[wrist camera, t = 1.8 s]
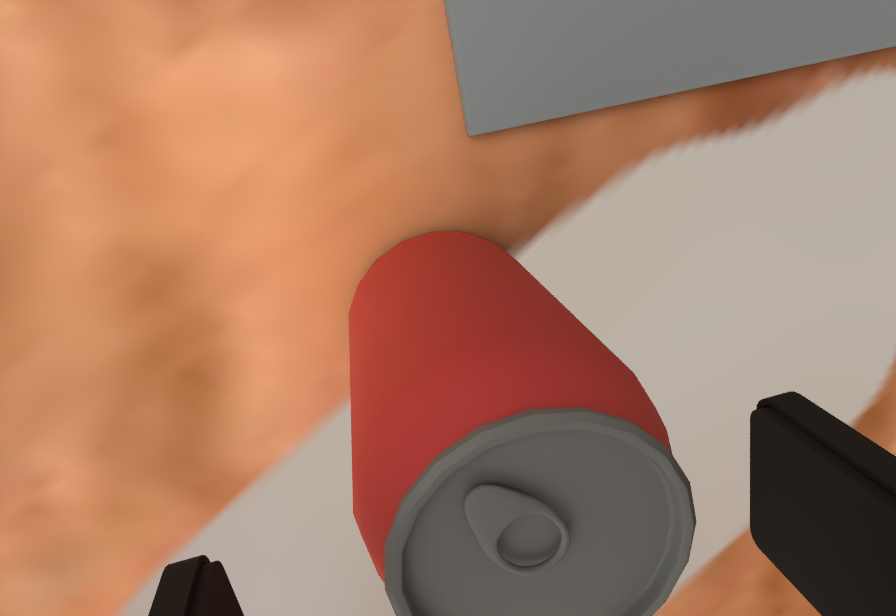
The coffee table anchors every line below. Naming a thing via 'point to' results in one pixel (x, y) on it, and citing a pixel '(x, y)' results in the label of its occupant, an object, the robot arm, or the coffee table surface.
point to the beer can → (504, 446)
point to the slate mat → (638, 49)
